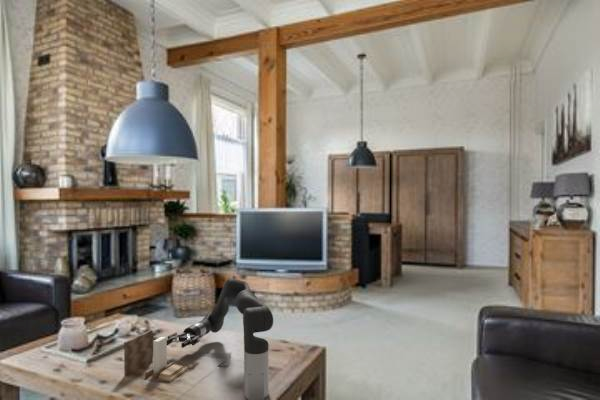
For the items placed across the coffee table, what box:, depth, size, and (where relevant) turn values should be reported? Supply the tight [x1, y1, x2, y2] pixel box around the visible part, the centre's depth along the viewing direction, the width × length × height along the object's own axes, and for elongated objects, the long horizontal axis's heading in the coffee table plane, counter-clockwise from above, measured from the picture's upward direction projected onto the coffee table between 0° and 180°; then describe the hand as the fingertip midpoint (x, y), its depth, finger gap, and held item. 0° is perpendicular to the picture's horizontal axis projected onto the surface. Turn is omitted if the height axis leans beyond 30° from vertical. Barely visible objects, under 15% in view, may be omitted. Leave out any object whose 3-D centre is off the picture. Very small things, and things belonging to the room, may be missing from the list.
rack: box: [123, 329, 195, 385], centre depth 171 cm, size 16×23×15 cm
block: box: [153, 336, 168, 374], centre depth 171 cm, size 6×2×14 cm, turn 161°
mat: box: [199, 352, 232, 368], centre depth 185 cm, size 14×14×1 cm
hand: (174, 344), depth 180 cm, fingers open, 8 cm apart
